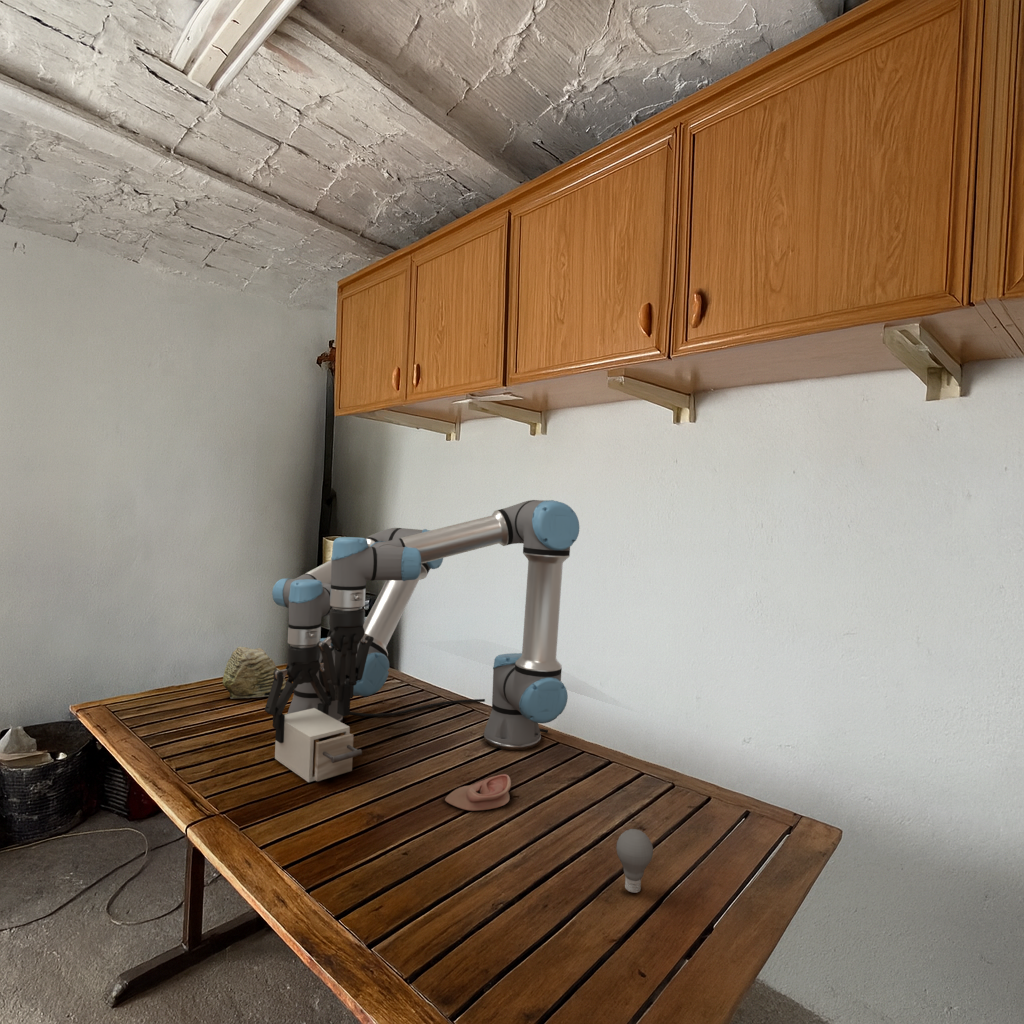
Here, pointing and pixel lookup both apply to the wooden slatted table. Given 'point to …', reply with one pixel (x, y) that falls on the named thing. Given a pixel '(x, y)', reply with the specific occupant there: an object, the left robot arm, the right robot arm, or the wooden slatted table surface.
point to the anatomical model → (482, 794)
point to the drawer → (333, 755)
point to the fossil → (249, 673)
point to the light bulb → (634, 857)
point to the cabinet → (305, 739)
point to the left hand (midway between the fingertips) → (300, 735)
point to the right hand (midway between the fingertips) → (343, 713)
